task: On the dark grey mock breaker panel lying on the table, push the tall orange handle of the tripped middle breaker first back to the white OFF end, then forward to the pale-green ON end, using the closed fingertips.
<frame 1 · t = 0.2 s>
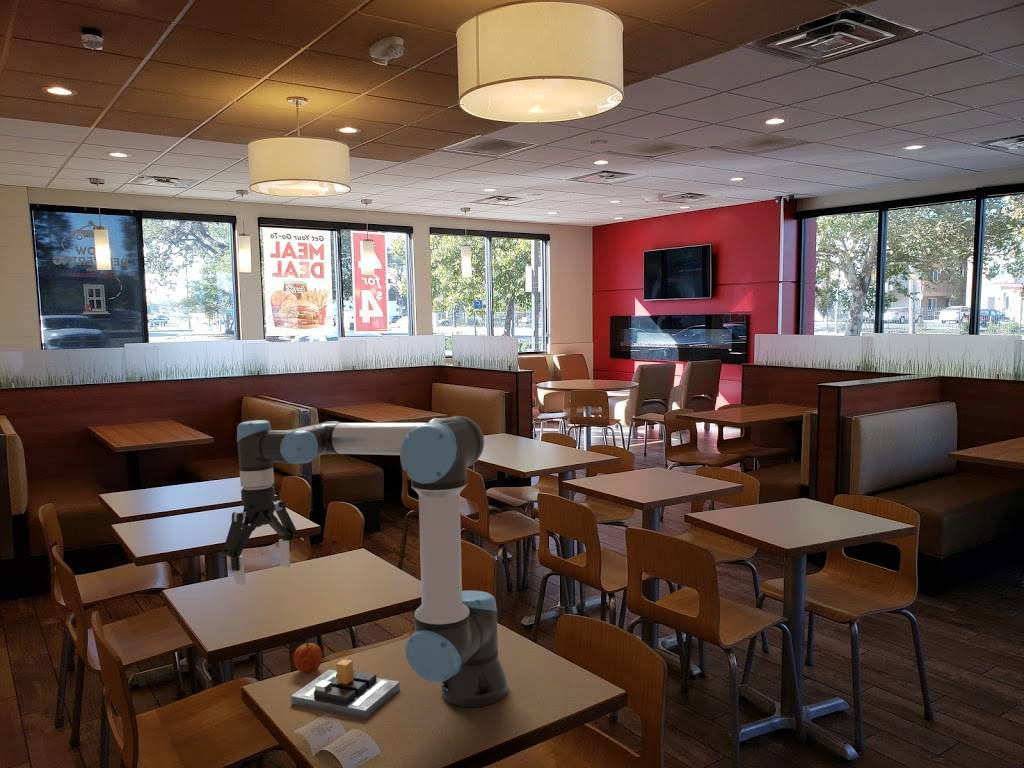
hand: (263, 574, 178), 27 cm above the table, fingers open, 13 cm apart
tripped breaker: (345, 671, 173), point 6 cm above the table, slide at 0.0 cm
fruit: (308, 672, 187), on the table
panel: (346, 697, 173), on the table
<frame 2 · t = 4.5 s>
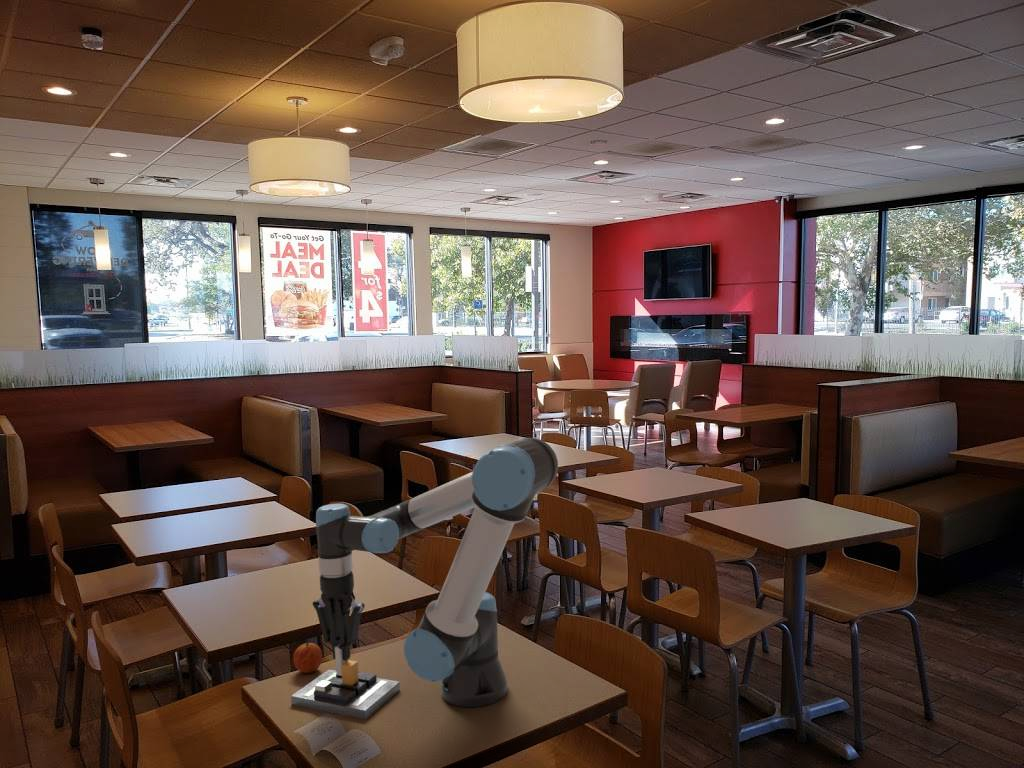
hand: (342, 672, 173), 6 cm above the table, fingers closed
tripped breaker: (349, 672, 172), point 6 cm above the table, slide at -1.4 cm, touching gripper
everything else where it was.
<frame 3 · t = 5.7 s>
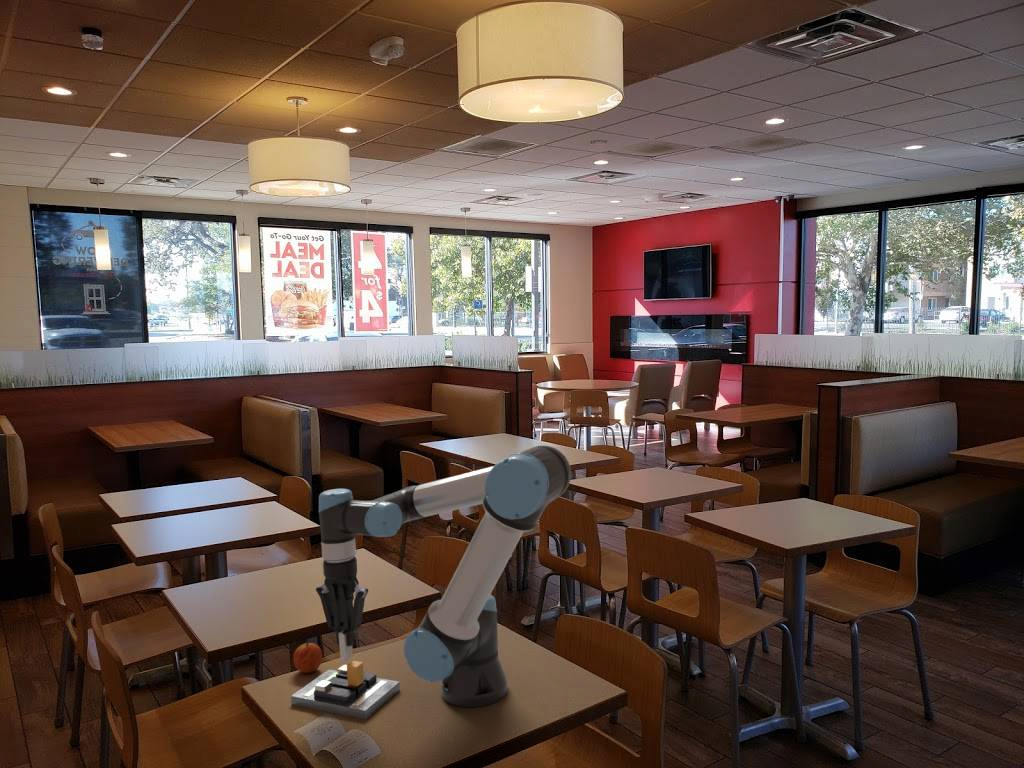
hand: (346, 658, 172), 9 cm above the table, fingers closed
tripped breaker: (355, 673, 171), point 6 cm above the table, slide at -2.8 cm
everything else where it was.
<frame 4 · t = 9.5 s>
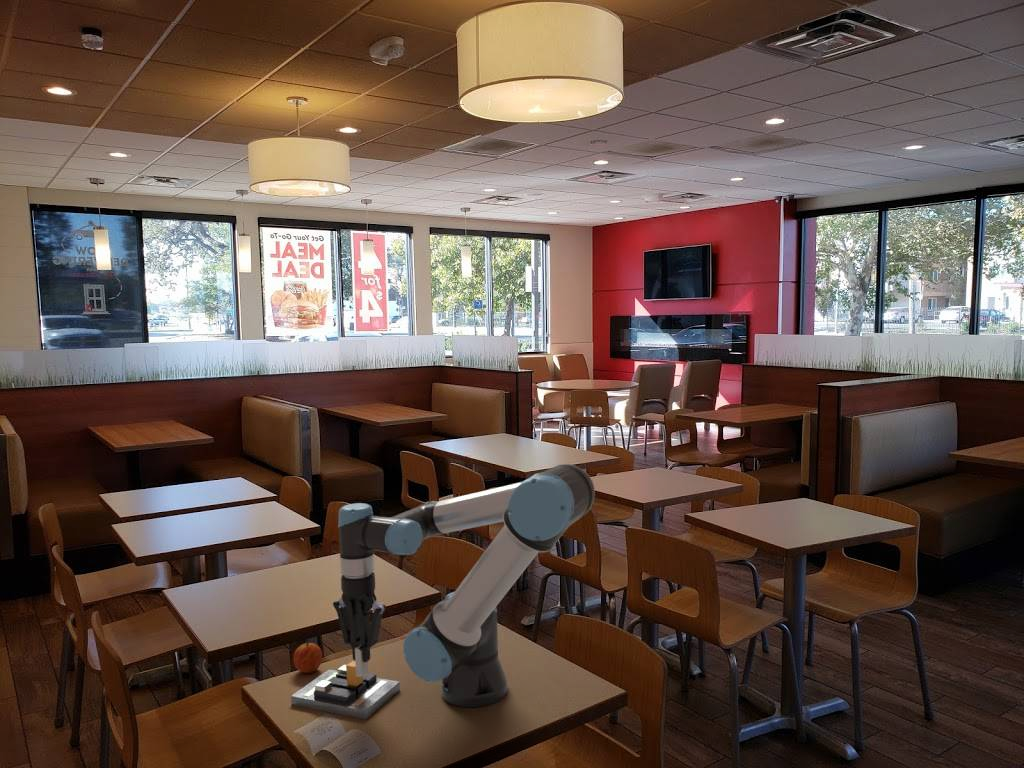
hand: (362, 674, 171), 6 cm above the table, fingers closed
tripped breaker: (354, 673, 171), point 6 cm above the table, slide at -2.7 cm, touching gripper
everything else where it was.
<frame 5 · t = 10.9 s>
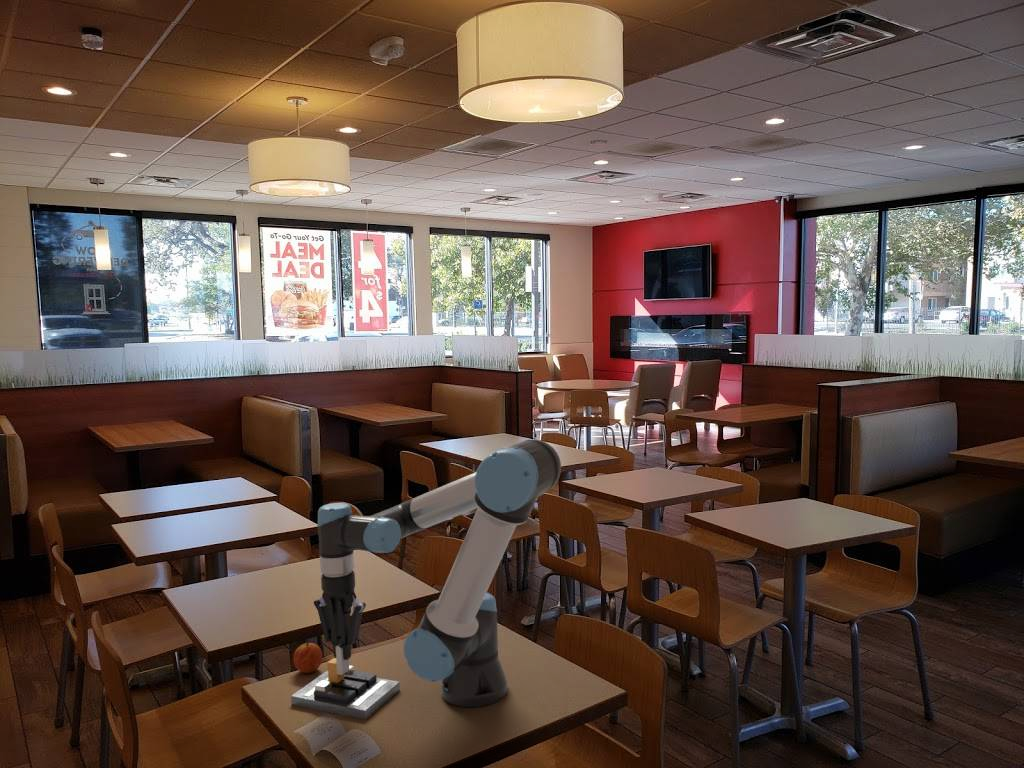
hand: (343, 671, 173), 6 cm above the table, fingers closed
tripped breaker: (336, 670, 174), point 6 cm above the table, slide at 2.5 cm, touching gripper
everything else where it was.
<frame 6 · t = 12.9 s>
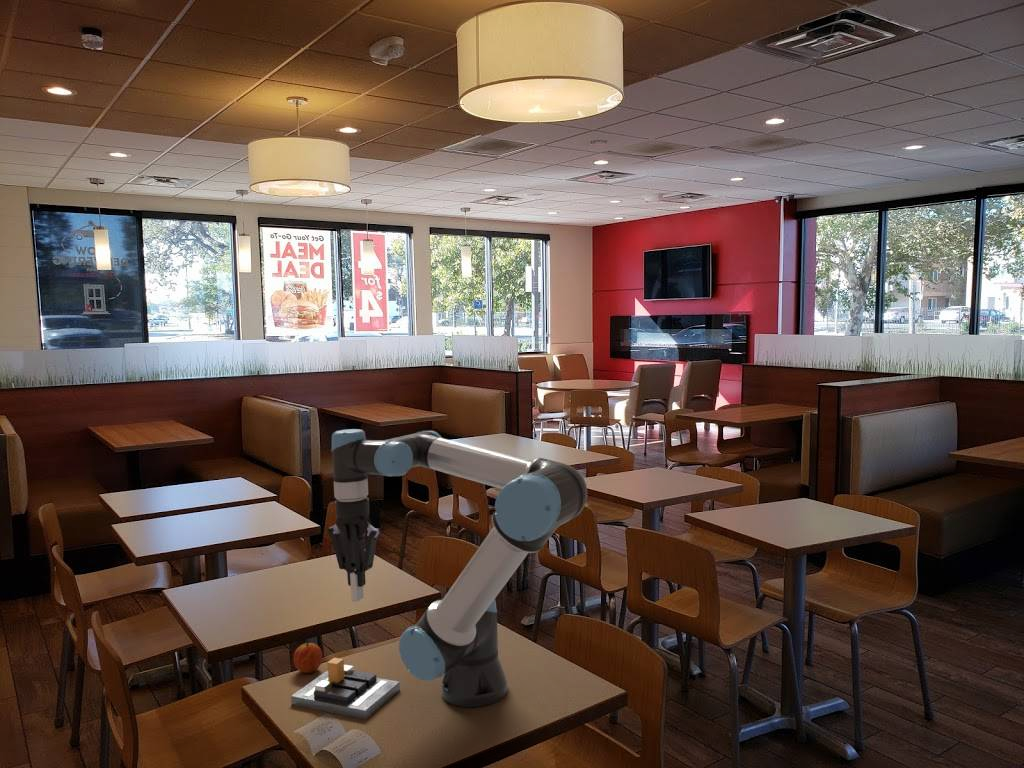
hand: (357, 599, 172), 23 cm above the table, fingers closed
tripped breaker: (336, 670, 174), point 6 cm above the table, slide at 2.5 cm
everything else where it was.
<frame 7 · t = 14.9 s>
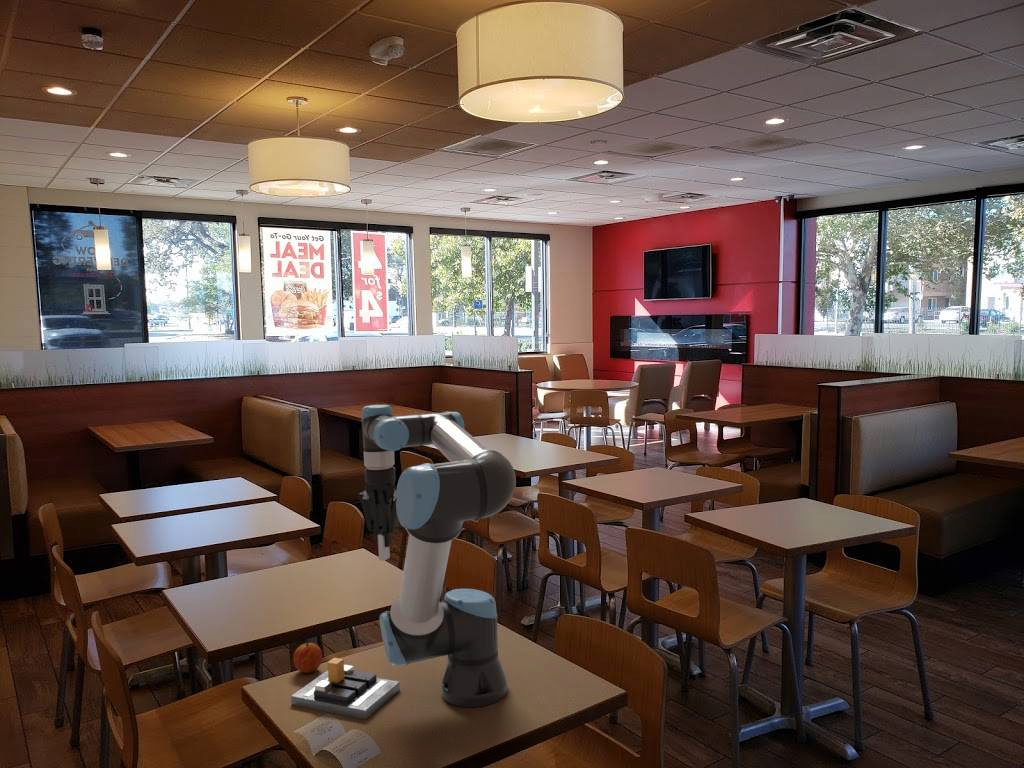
hand: (384, 558, 190), 26 cm above the table, fingers closed
nothing on the table moved.
at the end: tripped breaker slide at 2.5 cm; the gripper is holding nothing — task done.
